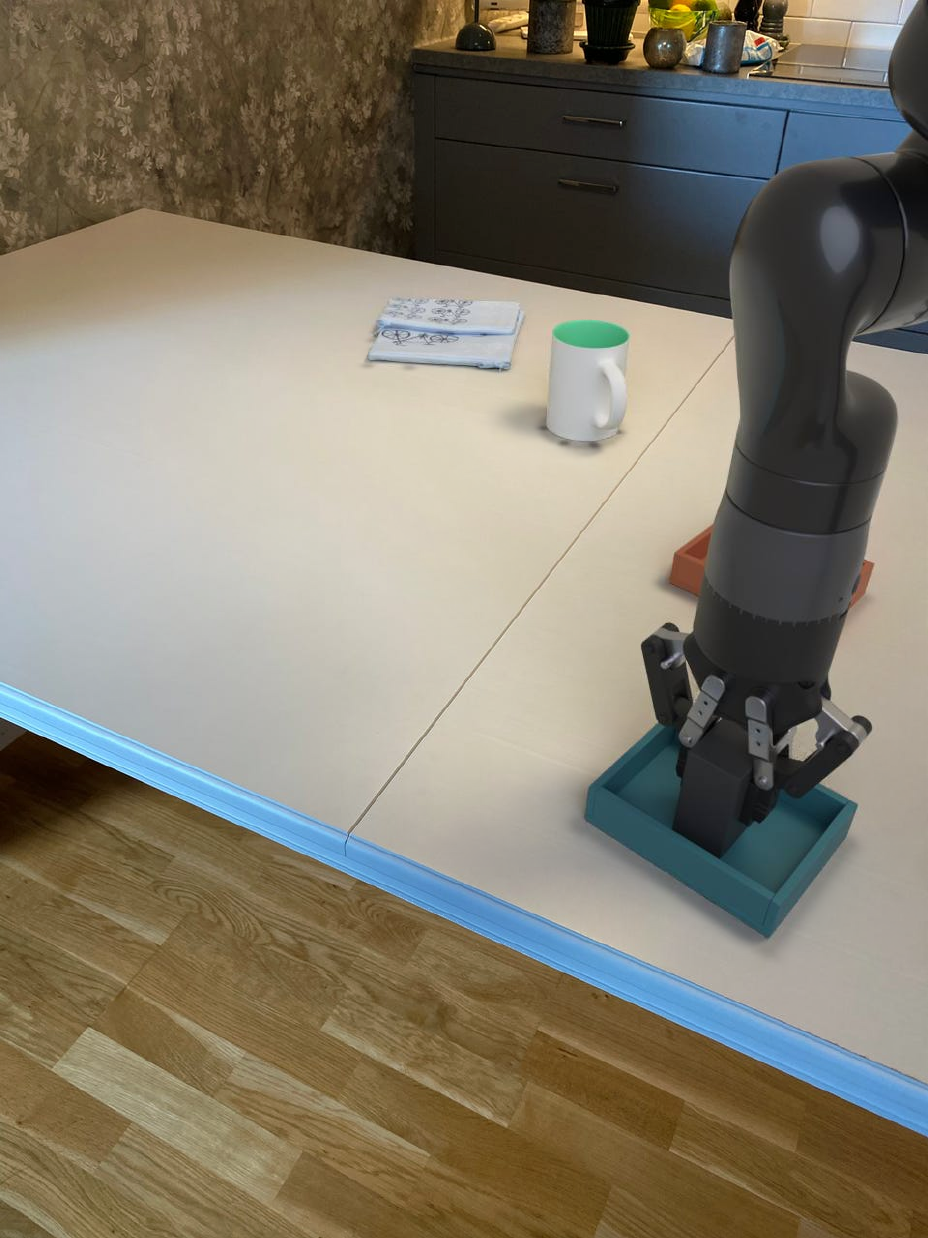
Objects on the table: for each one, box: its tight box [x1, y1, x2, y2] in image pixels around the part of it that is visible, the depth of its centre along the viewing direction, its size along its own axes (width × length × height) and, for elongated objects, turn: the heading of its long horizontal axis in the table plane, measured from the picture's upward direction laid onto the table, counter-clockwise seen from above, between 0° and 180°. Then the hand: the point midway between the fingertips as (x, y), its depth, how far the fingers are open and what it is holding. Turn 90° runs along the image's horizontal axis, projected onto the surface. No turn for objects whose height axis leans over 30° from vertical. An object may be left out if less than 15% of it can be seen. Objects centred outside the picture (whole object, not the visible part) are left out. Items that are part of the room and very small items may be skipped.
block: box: [672, 718, 753, 859], centre depth 60 cm, size 4×5×7 cm
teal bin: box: [583, 721, 859, 939], centre depth 62 cm, size 13×10×3 cm
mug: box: [545, 319, 631, 442], centre depth 104 cm, size 12×8×10 cm, turn 22°
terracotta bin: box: [668, 523, 875, 610], centre depth 83 cm, size 13×10×3 cm
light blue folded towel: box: [367, 297, 526, 372], centre depth 128 cm, size 19×20×2 cm
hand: (722, 798), depth 61 cm, fingers closed on block, 3 cm apart
